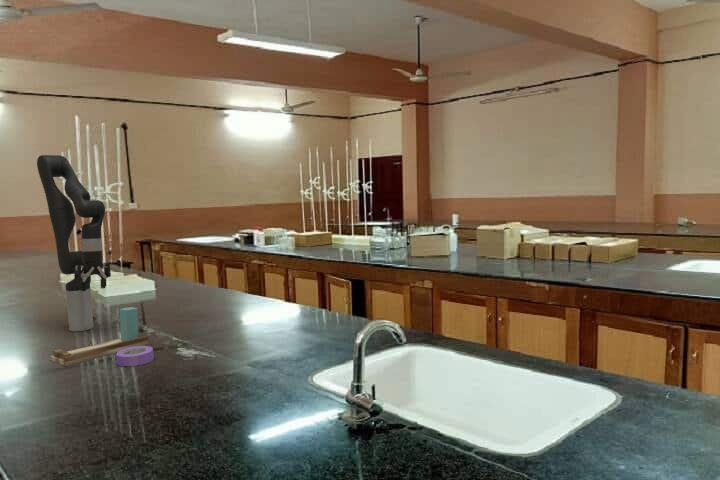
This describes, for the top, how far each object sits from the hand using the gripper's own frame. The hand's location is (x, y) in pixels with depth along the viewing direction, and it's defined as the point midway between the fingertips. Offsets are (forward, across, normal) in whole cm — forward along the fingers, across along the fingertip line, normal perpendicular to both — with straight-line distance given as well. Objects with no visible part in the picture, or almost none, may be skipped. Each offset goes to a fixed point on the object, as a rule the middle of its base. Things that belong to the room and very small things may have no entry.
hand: (93, 289), depth 218 cm
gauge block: (+17, +2, +25) cm, 30 cm away
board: (+19, +13, +24) cm, 33 cm away
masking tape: (+20, +15, +45) cm, 51 cm away
